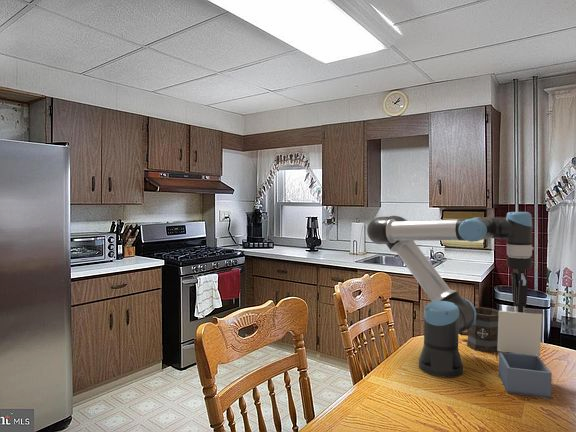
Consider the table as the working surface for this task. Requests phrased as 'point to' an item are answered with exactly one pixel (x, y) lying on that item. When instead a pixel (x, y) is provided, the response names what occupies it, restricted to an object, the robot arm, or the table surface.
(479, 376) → the table surface
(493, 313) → the mug
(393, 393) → the table surface
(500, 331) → the lid
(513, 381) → the box
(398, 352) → the table surface
